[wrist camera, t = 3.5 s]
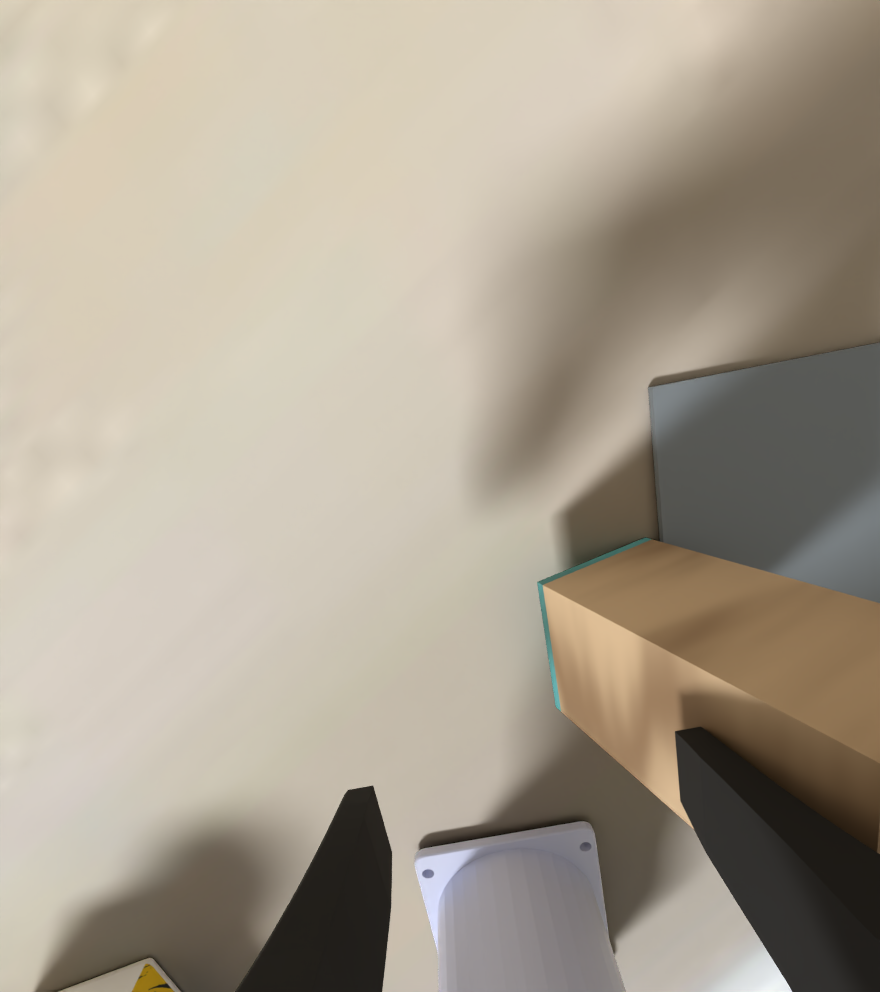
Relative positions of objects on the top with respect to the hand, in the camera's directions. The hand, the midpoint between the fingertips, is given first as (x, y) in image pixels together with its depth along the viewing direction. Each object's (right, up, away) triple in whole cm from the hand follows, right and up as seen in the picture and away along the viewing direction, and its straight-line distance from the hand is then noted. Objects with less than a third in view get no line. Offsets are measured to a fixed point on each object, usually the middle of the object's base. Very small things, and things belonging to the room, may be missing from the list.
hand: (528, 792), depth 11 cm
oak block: (+4, +2, +6) cm, 8 cm away
